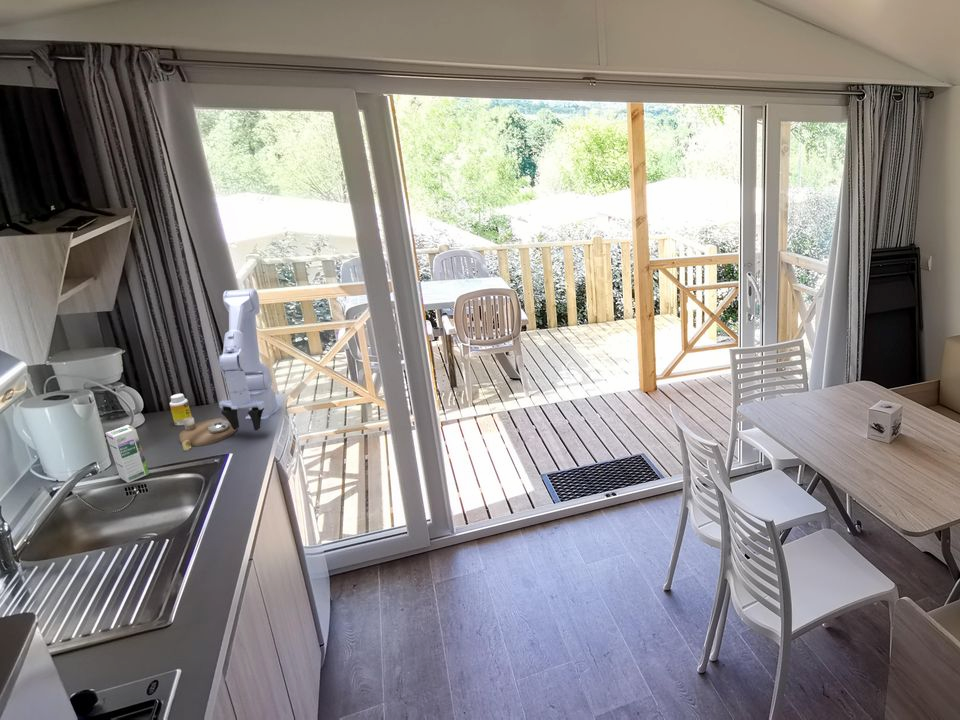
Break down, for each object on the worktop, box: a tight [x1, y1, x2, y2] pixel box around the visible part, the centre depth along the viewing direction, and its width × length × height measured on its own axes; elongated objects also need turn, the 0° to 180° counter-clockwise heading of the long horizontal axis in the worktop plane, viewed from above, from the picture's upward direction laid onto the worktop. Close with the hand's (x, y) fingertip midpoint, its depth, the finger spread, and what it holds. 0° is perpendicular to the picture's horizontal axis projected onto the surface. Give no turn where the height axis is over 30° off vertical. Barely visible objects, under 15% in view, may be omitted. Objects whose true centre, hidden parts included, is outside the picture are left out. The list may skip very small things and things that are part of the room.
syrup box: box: [105, 424, 150, 484], centre depth 150 cm, size 6×6×14 cm
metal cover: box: [208, 420, 229, 434], centre depth 174 cm, size 6×6×2 cm
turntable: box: [178, 416, 238, 447], centre depth 175 cm, size 17×17×5 cm
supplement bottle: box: [169, 393, 193, 426], centre depth 185 cm, size 6×6×10 cm
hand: (246, 428), depth 172 cm, fingers open, 7 cm apart
